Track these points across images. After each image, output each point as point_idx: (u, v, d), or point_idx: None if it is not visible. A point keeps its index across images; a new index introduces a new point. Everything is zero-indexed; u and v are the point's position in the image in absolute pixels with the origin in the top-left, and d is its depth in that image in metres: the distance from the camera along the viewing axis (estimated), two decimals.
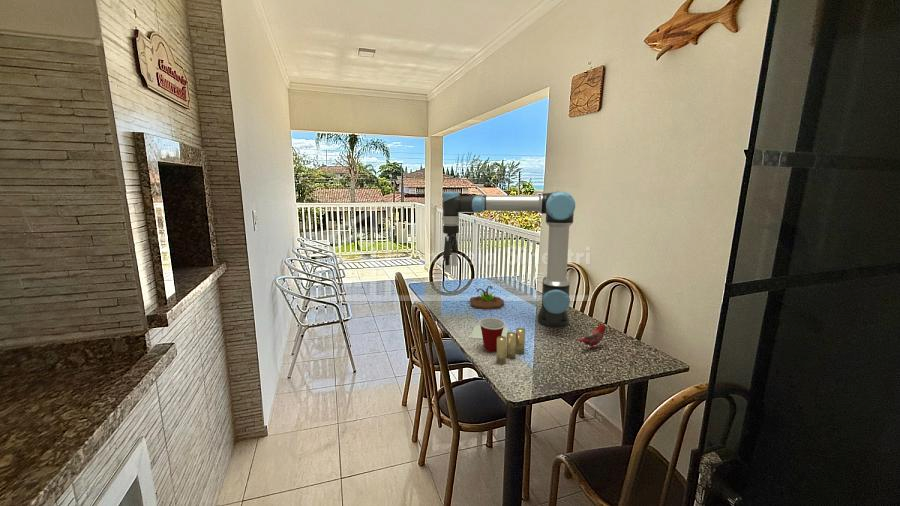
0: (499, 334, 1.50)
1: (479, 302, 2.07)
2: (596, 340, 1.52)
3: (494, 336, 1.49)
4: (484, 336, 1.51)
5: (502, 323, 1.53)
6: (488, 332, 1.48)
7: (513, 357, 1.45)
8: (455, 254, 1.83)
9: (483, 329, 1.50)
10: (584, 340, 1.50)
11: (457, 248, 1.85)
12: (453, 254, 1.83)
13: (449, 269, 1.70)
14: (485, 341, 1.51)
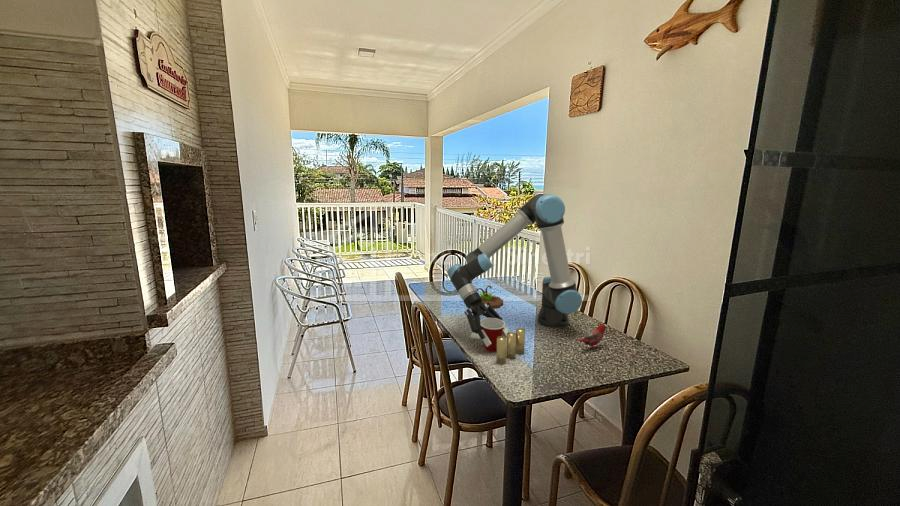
0: (499, 334, 1.49)
1: None
2: (596, 340, 1.52)
3: (494, 336, 1.49)
4: None
5: (502, 323, 1.53)
6: (488, 332, 1.48)
7: (513, 357, 1.45)
8: None
9: (483, 329, 1.50)
10: (584, 340, 1.50)
11: (500, 317, 1.58)
12: None
13: (488, 341, 1.47)
14: None
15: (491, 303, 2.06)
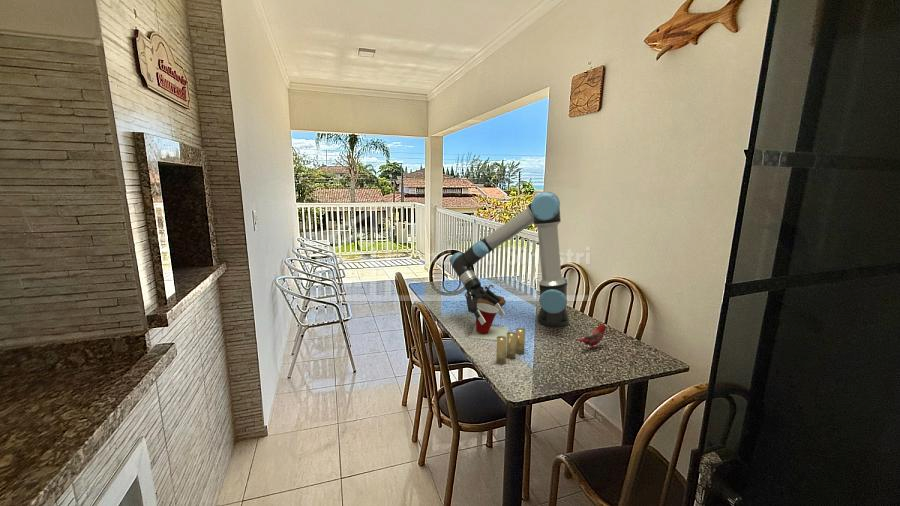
0: (492, 318, 1.66)
1: (478, 300, 2.11)
2: (596, 340, 1.52)
3: (487, 318, 1.65)
4: None
5: (495, 310, 1.70)
6: (482, 314, 1.65)
7: (513, 357, 1.45)
8: (497, 304, 1.74)
9: None
10: (584, 340, 1.50)
11: (498, 298, 1.76)
12: (496, 306, 1.75)
13: (483, 320, 1.63)
14: (478, 322, 1.67)
15: (489, 302, 2.07)
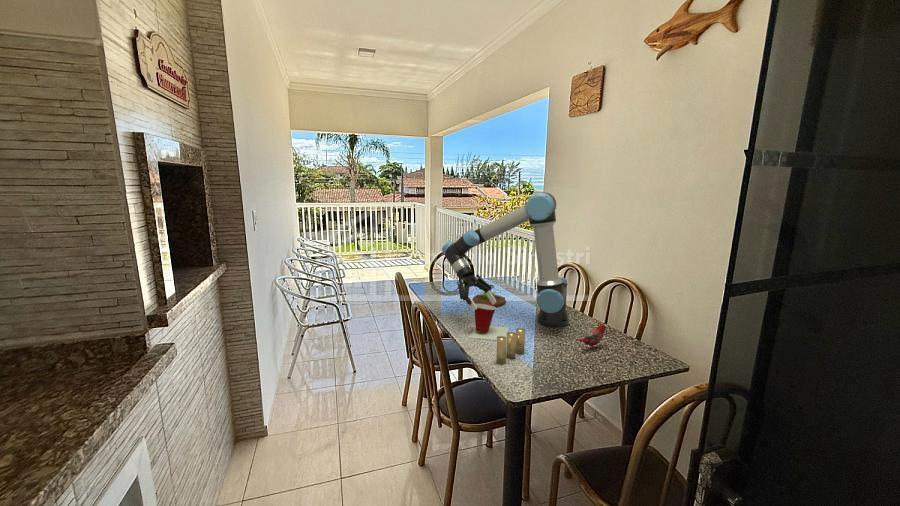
0: (490, 315, 1.67)
1: (478, 299, 2.12)
2: (596, 340, 1.52)
3: (486, 316, 1.66)
4: (476, 316, 1.68)
5: (493, 308, 1.72)
6: (480, 312, 1.66)
7: (513, 357, 1.45)
8: (488, 292, 1.78)
9: (476, 309, 1.68)
10: (584, 340, 1.50)
11: (490, 286, 1.80)
12: (487, 293, 1.78)
13: (474, 306, 1.67)
14: (477, 321, 1.68)
15: (489, 302, 2.07)
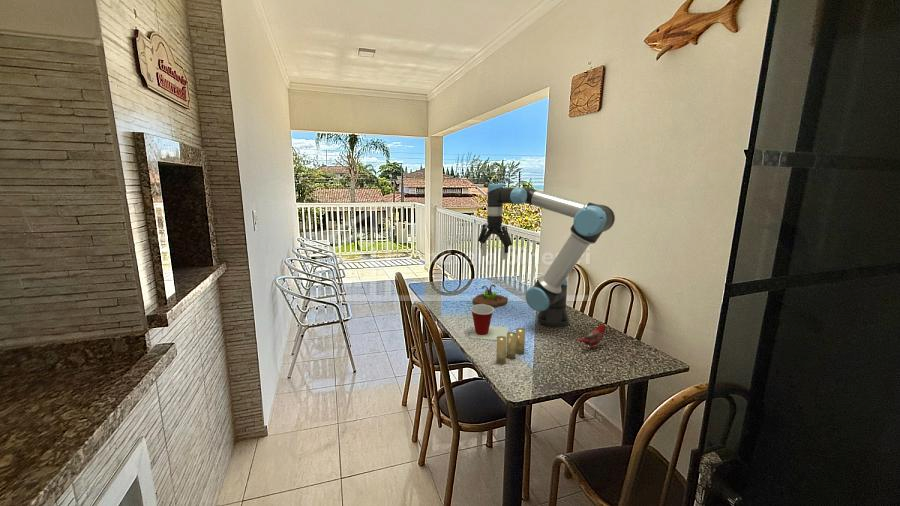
0: (488, 319, 1.65)
1: (479, 298, 2.13)
2: (596, 340, 1.52)
3: (483, 320, 1.65)
4: (474, 320, 1.67)
5: (492, 309, 1.69)
6: (478, 317, 1.65)
7: (513, 357, 1.45)
8: None
9: (473, 314, 1.66)
10: (584, 340, 1.50)
11: (507, 243, 1.76)
12: None
13: None
14: (476, 325, 1.67)
15: (489, 302, 2.08)
